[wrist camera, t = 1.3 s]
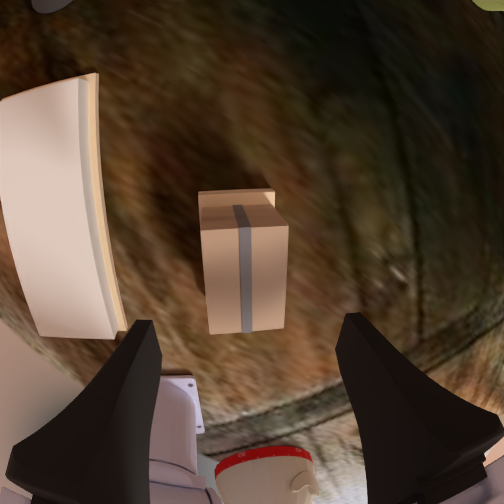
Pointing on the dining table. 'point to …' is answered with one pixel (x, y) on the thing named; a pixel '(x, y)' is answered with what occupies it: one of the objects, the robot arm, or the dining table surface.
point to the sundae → (49, 5)
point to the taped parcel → (243, 260)
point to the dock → (59, 209)
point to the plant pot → (490, 4)
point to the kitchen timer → (267, 477)
